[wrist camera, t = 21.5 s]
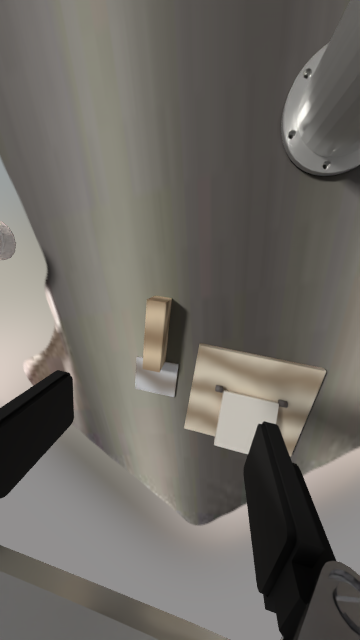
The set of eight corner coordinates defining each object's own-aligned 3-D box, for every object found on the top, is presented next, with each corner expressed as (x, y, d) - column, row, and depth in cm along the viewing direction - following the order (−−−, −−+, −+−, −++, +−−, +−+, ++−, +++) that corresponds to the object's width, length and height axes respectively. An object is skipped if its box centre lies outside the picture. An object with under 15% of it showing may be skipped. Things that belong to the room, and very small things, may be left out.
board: (199, 343, 34) (198, 348, 32) (323, 368, 31) (330, 375, 29) (184, 424, 40) (183, 433, 37) (288, 451, 37) (293, 462, 35)
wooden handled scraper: (141, 293, 34) (131, 297, 30) (186, 300, 33) (182, 305, 29) (136, 386, 39) (127, 400, 36) (174, 395, 38) (169, 410, 34)
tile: (214, 445, 33) (213, 441, 34) (270, 460, 31) (267, 455, 33) (223, 391, 33) (223, 389, 34) (279, 404, 32) (276, 401, 33)
